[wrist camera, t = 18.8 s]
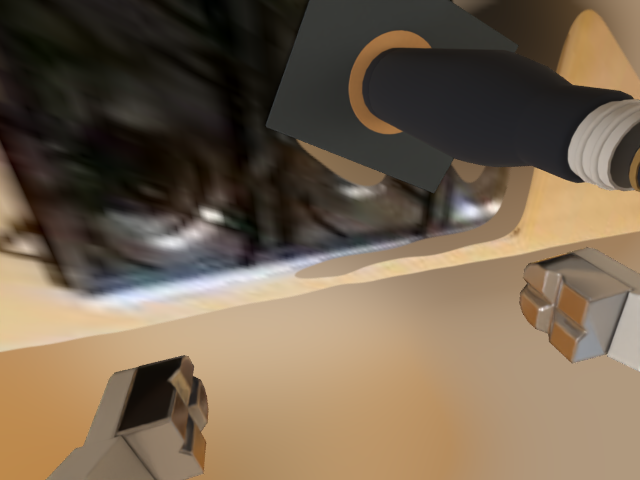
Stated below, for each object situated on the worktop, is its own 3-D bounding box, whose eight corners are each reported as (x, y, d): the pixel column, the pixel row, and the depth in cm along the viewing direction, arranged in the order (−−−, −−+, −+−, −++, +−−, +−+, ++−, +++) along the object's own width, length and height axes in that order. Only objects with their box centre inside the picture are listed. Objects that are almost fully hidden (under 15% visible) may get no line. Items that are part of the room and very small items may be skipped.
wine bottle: (347, 87, 33) (743, 243, 7) (398, 30, 32) (1117, -32, 6) (390, 134, 36) (779, 363, 10) (438, 83, 35) (1032, 201, 9)
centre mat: (334, -72, 28) (336, -74, 27) (514, 45, 35) (519, 45, 34) (265, 125, 34) (265, 127, 33) (431, 191, 41) (434, 193, 40)
